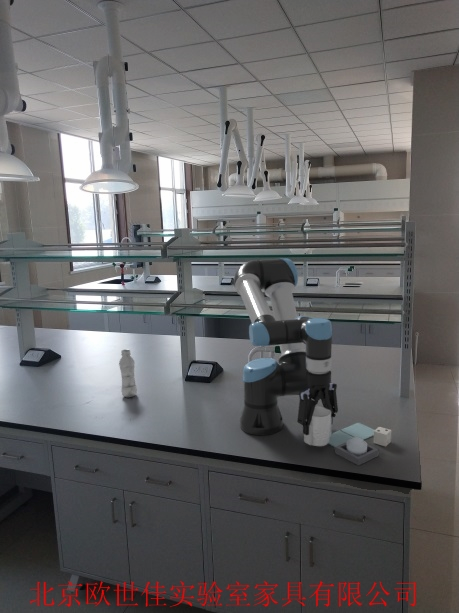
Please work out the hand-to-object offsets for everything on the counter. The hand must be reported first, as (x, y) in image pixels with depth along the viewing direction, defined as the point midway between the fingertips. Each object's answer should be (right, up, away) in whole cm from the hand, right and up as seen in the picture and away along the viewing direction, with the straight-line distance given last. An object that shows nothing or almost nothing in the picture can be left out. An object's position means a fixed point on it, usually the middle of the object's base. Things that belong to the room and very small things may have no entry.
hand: (317, 438), depth 139 cm
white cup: (0, -1, 0) cm, 1 cm away
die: (+21, -2, +3) cm, 21 cm away
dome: (+11, -3, -4) cm, 12 cm away
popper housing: (+11, -4, -4) cm, 12 cm away
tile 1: (+8, -2, +5) cm, 10 cm away
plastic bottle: (-70, +3, +49) cm, 85 cm away
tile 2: (+16, -1, +10) cm, 19 cm away
